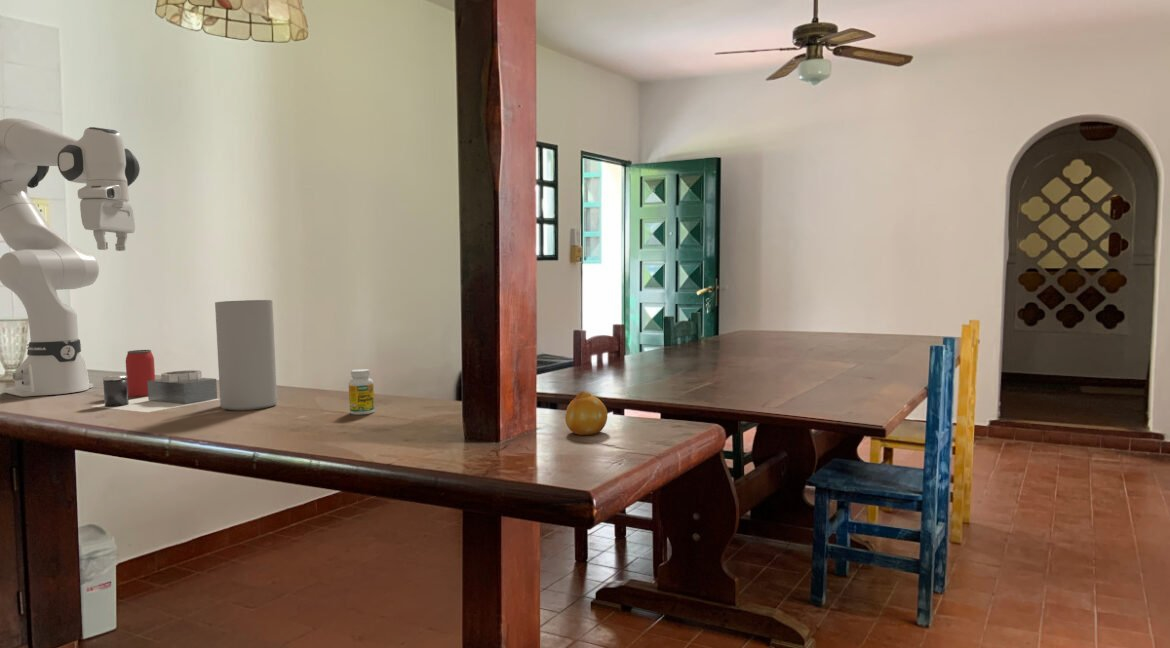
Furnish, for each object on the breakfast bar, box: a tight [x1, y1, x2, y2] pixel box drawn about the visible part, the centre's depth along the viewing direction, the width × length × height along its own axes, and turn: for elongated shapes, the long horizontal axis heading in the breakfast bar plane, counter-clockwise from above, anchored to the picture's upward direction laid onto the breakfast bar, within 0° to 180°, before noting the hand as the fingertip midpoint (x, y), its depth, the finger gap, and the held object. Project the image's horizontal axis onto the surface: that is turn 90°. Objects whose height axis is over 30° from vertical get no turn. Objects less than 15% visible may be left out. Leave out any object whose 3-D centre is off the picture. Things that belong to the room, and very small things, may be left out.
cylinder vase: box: [214, 299, 278, 412], centre depth 197 cm, size 12×12×25 cm
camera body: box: [147, 369, 218, 404], centre depth 208 cm, size 14×9×7 cm, turn 61°
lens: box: [102, 374, 129, 407], centre depth 201 cm, size 5×5×7 cm
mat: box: [90, 396, 220, 414], centre depth 204 cm, size 22×20×1 cm
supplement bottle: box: [348, 368, 375, 416], centre depth 185 cm, size 5×5×10 cm
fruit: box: [564, 391, 608, 436], centre depth 158 cm, size 8×8×8 cm
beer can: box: [125, 349, 156, 398], centre depth 217 cm, size 7×7×12 cm
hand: (111, 250), depth 206 cm, fingers open, 8 cm apart
